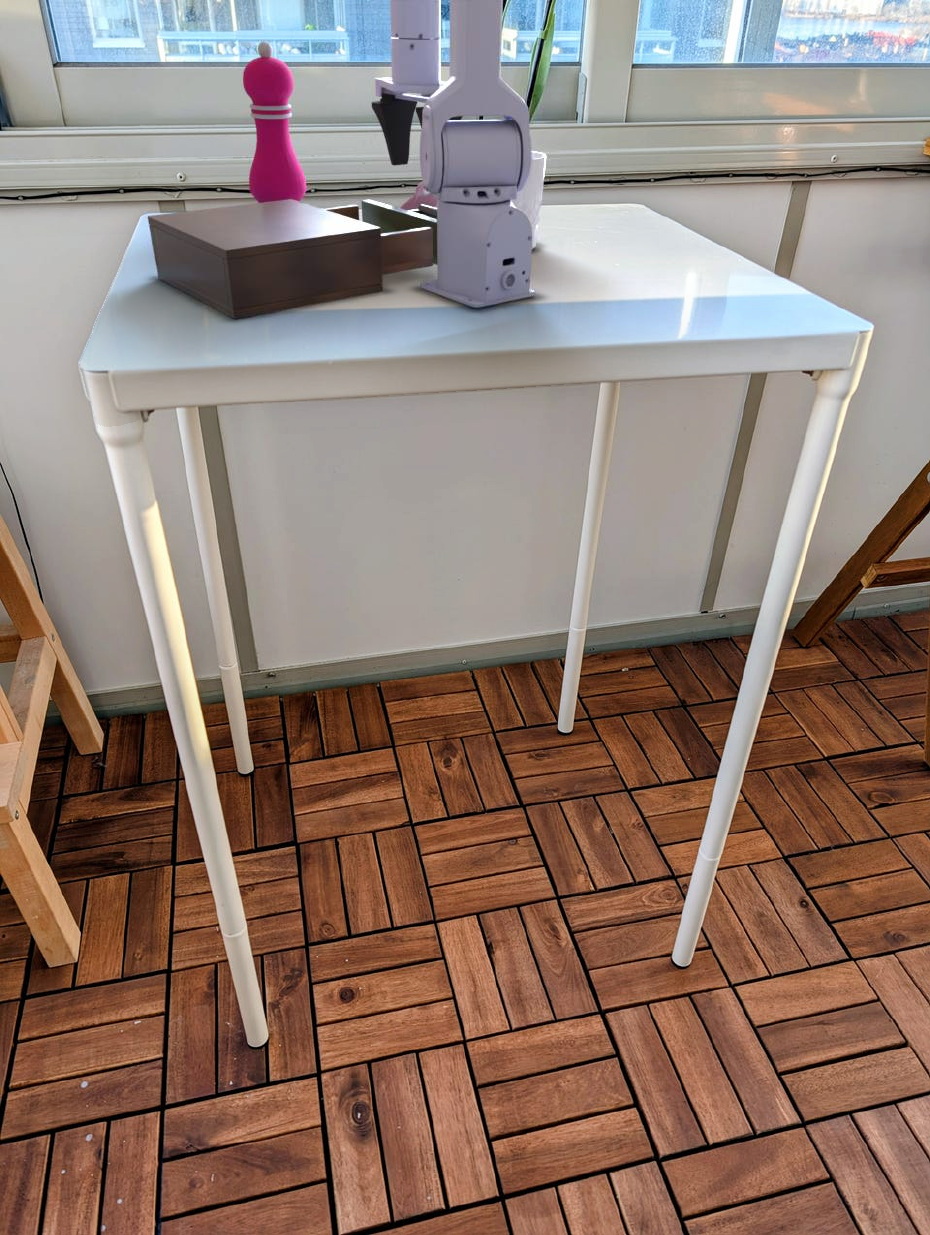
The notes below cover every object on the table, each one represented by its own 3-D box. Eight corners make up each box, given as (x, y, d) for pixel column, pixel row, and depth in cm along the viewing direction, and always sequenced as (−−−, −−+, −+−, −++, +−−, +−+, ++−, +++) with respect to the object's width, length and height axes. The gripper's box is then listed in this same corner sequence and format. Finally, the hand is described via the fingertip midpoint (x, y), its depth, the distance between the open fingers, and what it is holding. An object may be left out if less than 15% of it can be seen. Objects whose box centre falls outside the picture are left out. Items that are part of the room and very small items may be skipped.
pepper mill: (297, 229, 115) (282, 43, 103) (244, 226, 116) (223, 41, 104) (316, 218, 121) (304, 41, 109) (265, 215, 122) (247, 39, 110)
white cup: (541, 240, 112) (546, 150, 106) (539, 255, 106) (545, 160, 100) (478, 237, 113) (480, 148, 107) (472, 252, 106) (474, 158, 101)
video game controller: (421, 252, 112) (447, 198, 109) (388, 234, 111) (413, 179, 108) (426, 234, 120) (450, 184, 117) (395, 217, 119) (418, 165, 116)
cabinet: (296, 256, 103) (291, 198, 100) (383, 291, 92) (381, 227, 89) (157, 278, 95) (147, 216, 91) (234, 319, 84) (225, 250, 80)
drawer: (403, 233, 110) (402, 195, 108) (489, 261, 100) (490, 219, 97) (253, 256, 100) (249, 214, 97) (332, 289, 89) (329, 243, 87)
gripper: (482, 41, 101) (479, 174, 109) (407, 35, 110) (409, 158, 118) (432, 42, 97) (432, 180, 105) (358, 35, 107) (364, 162, 114)
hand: (417, 169), depth 111 cm, fingers open, 7 cm apart
